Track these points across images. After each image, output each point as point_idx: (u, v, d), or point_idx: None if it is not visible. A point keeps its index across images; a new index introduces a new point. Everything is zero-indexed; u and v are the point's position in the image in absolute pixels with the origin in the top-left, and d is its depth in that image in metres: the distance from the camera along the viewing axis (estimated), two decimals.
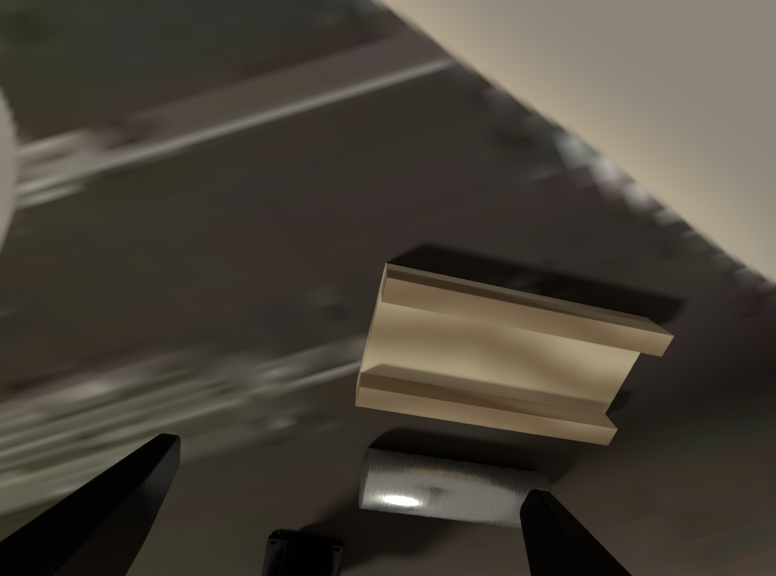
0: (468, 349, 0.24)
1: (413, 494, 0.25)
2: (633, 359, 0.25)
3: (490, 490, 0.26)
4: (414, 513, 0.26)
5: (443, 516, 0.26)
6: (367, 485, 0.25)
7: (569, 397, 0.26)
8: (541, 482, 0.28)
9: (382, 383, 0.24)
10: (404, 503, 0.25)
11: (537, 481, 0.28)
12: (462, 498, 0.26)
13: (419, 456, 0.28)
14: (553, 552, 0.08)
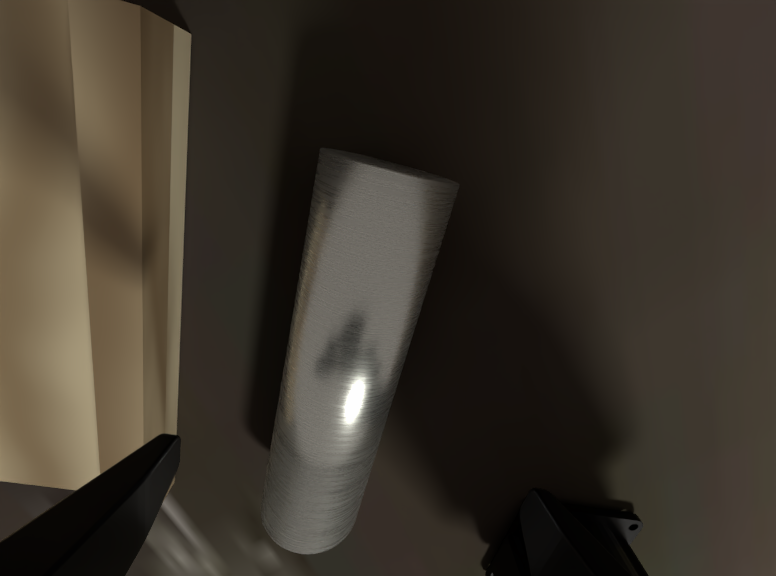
0: (28, 359, 0.13)
1: (276, 468, 0.13)
2: None
3: (293, 315, 0.12)
4: (318, 481, 0.12)
5: (326, 432, 0.11)
6: None
7: None
8: None
9: None
10: (287, 490, 0.13)
11: None
12: (288, 383, 0.12)
13: None
14: (553, 552, 0.08)
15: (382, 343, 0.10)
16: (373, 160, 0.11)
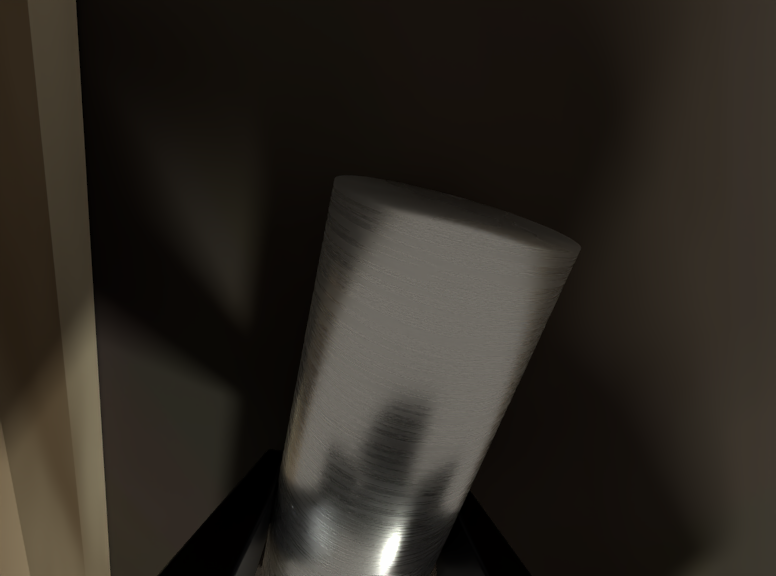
0: None
1: None
2: None
3: (296, 471, 0.07)
4: None
5: None
6: None
7: None
8: (326, 222, 0.06)
9: None
10: None
11: (323, 239, 0.06)
12: None
13: None
14: (452, 539, 0.08)
15: (466, 490, 0.07)
16: (416, 196, 0.06)
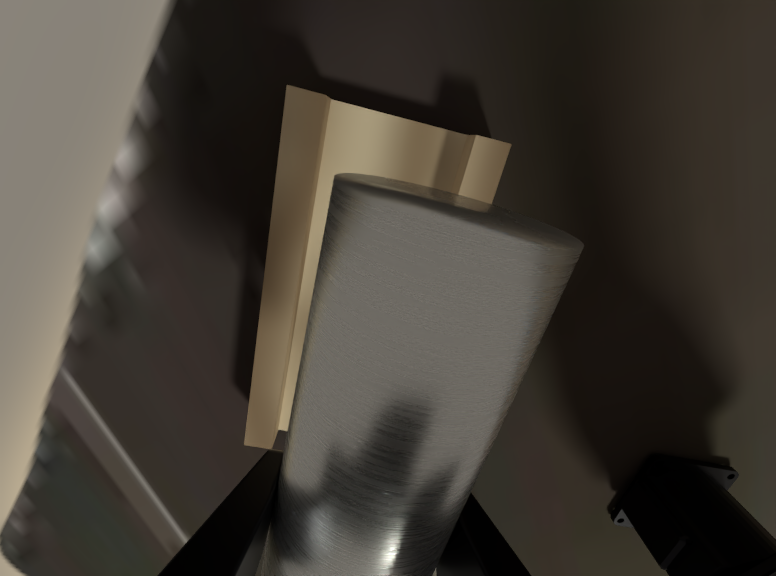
0: None
1: None
2: (359, 112, 0.15)
3: (296, 471, 0.07)
4: None
5: None
6: None
7: None
8: (326, 220, 0.06)
9: None
10: None
11: None
12: None
13: None
14: (452, 539, 0.08)
15: (468, 490, 0.07)
16: (416, 194, 0.06)
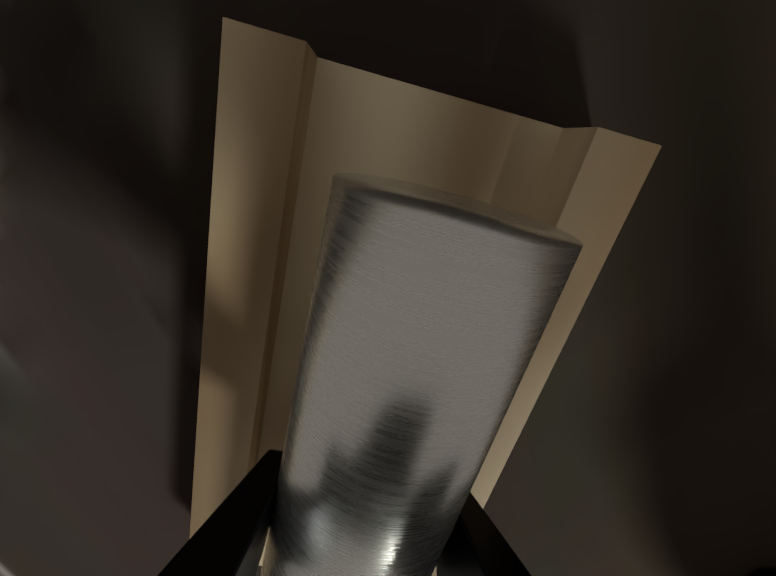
0: None
1: None
2: (370, 84, 0.08)
3: (295, 472, 0.07)
4: None
5: None
6: None
7: None
8: (325, 220, 0.06)
9: None
10: None
11: None
12: None
13: None
14: (452, 540, 0.08)
15: (468, 490, 0.07)
16: (415, 193, 0.06)
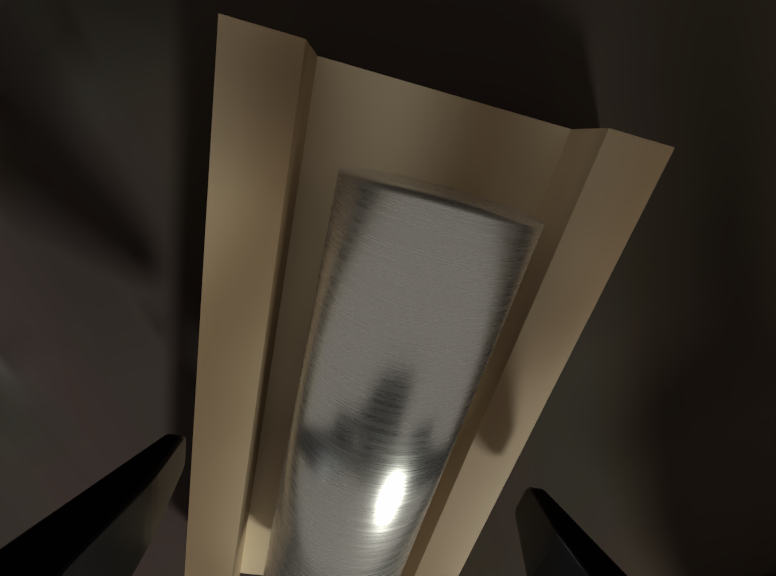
0: None
1: None
2: (372, 83, 0.08)
3: (305, 420, 0.08)
4: None
5: (375, 561, 0.08)
6: None
7: None
8: (332, 205, 0.07)
9: None
10: None
11: None
12: (309, 513, 0.08)
13: None
14: (548, 551, 0.08)
15: (451, 438, 0.08)
16: (408, 184, 0.07)
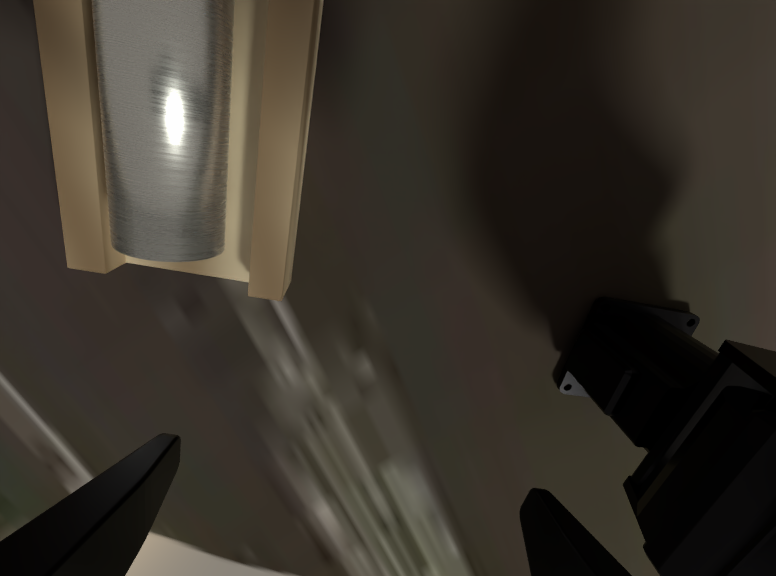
0: None
1: (112, 159, 0.12)
2: None
3: None
4: (162, 153, 0.12)
5: (156, 80, 0.11)
6: None
7: None
8: None
9: None
10: (130, 177, 0.12)
11: None
12: (100, 33, 0.11)
13: None
14: (553, 552, 0.08)
15: None
16: None
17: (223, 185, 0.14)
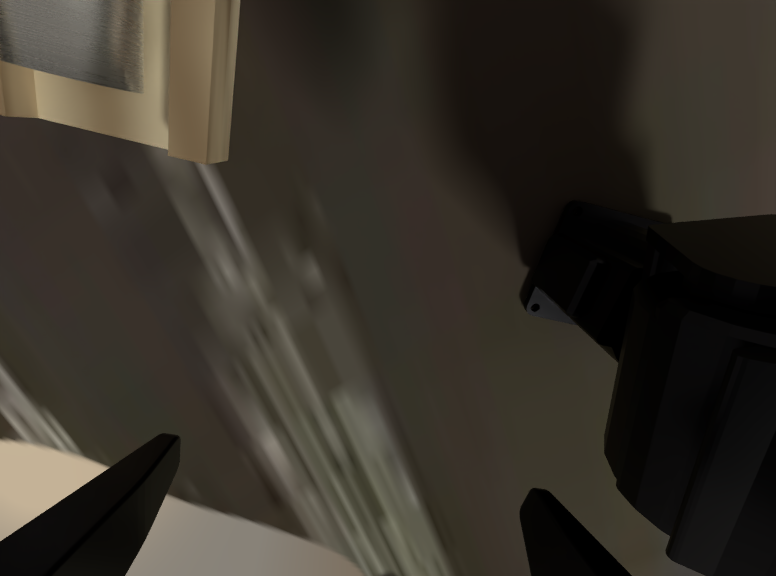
0: None
1: None
2: None
3: None
4: None
5: None
6: None
7: None
8: None
9: None
10: None
11: None
12: None
13: None
14: (553, 552, 0.08)
15: None
16: None
17: (134, 3, 0.13)
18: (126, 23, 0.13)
